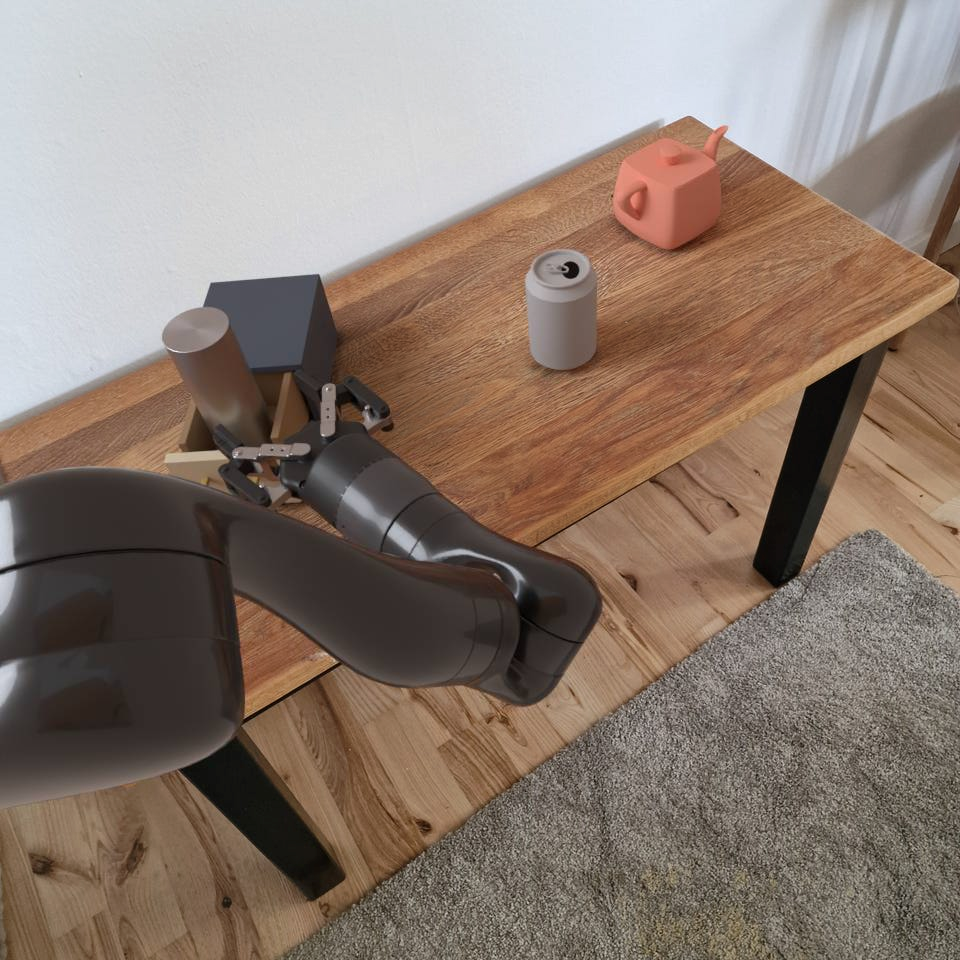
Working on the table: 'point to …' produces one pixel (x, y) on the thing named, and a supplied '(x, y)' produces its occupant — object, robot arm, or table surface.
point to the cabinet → (280, 324)
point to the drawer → (202, 451)
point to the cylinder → (218, 374)
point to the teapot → (669, 191)
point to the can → (562, 309)
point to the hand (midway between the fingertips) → (259, 404)
